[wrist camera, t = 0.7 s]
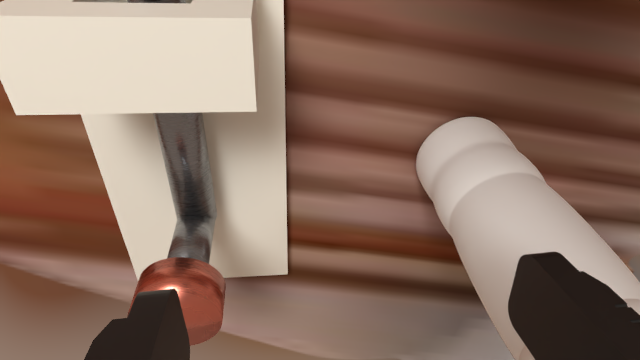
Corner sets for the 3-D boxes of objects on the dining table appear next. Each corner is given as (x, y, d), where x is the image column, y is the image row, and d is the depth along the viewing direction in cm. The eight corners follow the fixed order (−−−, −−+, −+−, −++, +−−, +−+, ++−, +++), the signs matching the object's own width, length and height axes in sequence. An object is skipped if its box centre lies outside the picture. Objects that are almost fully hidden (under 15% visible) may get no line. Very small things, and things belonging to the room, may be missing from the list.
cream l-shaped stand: (29, -63, 21) (-98, -32, 14) (282, -56, 22) (289, -24, 15) (141, 273, 36) (109, 373, 29) (287, 265, 38) (292, 359, 30)
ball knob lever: (99, -67, 20) (-14, -29, 12) (203, -64, 21) (162, -26, 12) (171, 230, 32) (138, 349, 24) (236, 227, 32) (226, 343, 24)
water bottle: (399, 180, 33) (598, 638, 13) (437, 103, 29) (799, 584, 9) (473, 194, 35) (750, 616, 15) (518, 123, 31) (972, 564, 11)
